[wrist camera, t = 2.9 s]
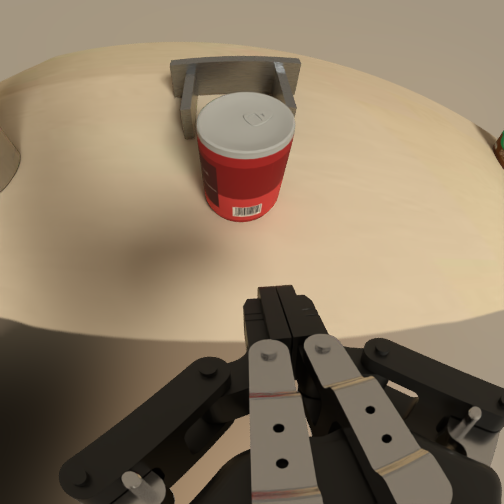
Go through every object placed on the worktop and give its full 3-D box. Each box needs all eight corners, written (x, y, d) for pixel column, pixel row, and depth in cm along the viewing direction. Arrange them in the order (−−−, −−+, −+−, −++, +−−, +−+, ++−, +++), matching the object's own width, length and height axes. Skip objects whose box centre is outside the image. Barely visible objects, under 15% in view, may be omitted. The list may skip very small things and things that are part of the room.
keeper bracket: (306, 136, 34) (317, 102, 29) (167, 140, 33) (159, 105, 27) (292, 89, 39) (298, 58, 33) (175, 91, 37) (171, 60, 31)
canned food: (291, 190, 31) (314, 118, 21) (244, 239, 29) (251, 172, 18) (239, 155, 33) (243, 80, 22) (191, 197, 30) (175, 123, 20)
